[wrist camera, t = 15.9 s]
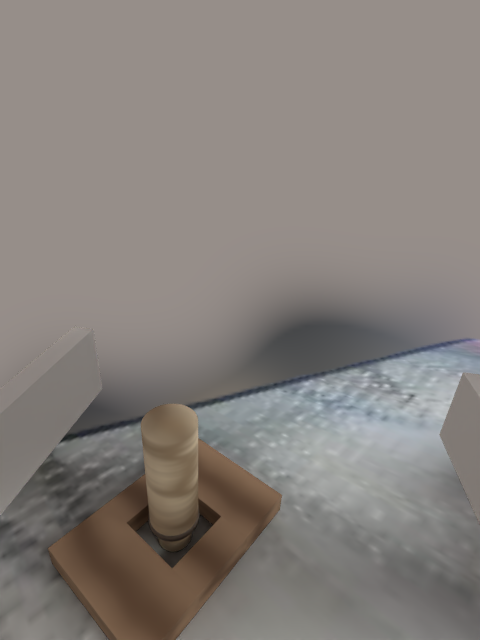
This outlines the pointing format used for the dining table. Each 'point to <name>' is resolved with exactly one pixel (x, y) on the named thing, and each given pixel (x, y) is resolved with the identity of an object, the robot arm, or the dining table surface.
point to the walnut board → (148, 567)
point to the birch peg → (171, 473)
